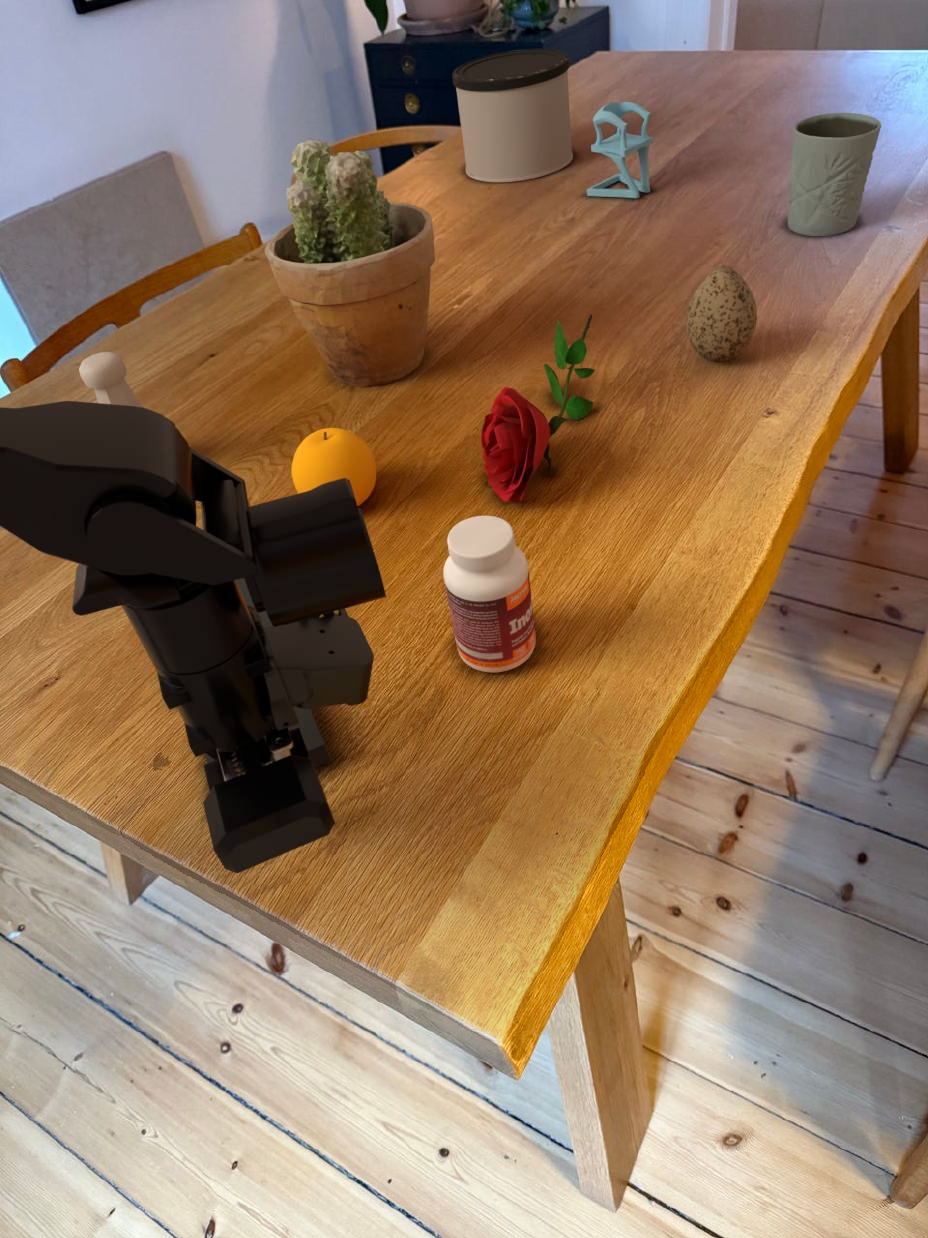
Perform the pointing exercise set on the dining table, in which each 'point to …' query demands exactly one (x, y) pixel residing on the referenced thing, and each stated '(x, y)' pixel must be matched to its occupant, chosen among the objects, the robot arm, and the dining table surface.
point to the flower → (530, 424)
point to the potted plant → (354, 267)
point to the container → (515, 114)
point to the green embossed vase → (830, 171)
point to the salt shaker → (108, 379)
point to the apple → (334, 462)
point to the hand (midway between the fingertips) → (280, 803)
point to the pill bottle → (489, 595)
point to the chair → (622, 150)
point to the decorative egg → (721, 315)
